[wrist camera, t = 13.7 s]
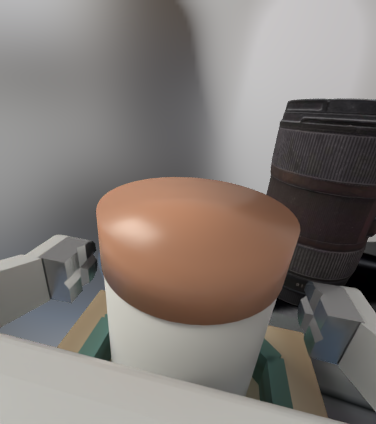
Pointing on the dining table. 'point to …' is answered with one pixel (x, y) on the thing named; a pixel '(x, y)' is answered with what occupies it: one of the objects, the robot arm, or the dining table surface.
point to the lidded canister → (192, 276)
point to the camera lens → (326, 187)
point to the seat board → (262, 375)
